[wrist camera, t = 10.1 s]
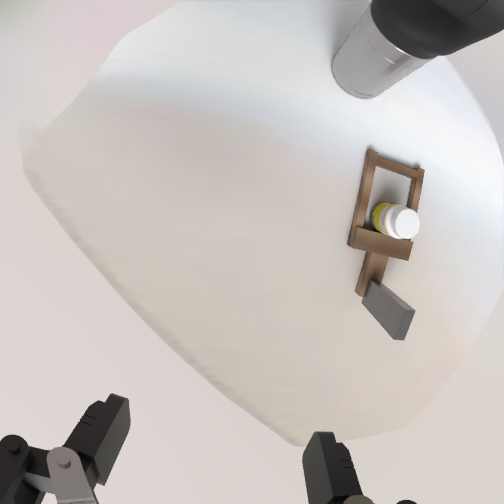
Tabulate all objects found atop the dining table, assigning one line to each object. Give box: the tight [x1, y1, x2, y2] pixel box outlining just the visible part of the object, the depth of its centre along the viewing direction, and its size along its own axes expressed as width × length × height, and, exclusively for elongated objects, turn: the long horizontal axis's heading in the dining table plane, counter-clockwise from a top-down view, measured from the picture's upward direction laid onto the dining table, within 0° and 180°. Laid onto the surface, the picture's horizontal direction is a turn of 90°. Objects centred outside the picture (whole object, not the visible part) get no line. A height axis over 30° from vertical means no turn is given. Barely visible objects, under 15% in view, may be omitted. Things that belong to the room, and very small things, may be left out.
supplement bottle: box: [370, 202, 420, 239], centre depth 37 cm, size 5×5×8 cm
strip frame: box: [347, 150, 425, 340], centre depth 35 cm, size 23×10×14 cm, turn 168°
